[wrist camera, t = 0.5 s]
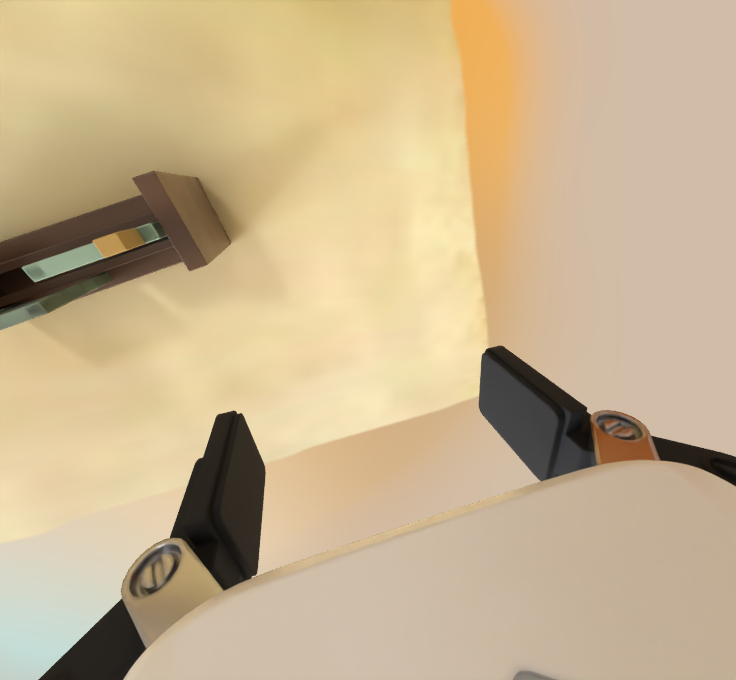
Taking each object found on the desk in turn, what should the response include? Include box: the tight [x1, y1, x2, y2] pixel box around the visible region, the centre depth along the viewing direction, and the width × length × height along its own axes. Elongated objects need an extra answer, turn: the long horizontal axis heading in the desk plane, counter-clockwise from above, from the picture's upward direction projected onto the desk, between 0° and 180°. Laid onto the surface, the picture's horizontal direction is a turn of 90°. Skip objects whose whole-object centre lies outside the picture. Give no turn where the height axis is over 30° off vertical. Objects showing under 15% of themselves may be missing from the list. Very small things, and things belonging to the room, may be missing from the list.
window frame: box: [0, 171, 231, 330], centre depth 27 cm, size 7×24×12 cm, turn 107°
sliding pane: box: [22, 221, 167, 282], centre depth 25 cm, size 1×10×13 cm, turn 107°
